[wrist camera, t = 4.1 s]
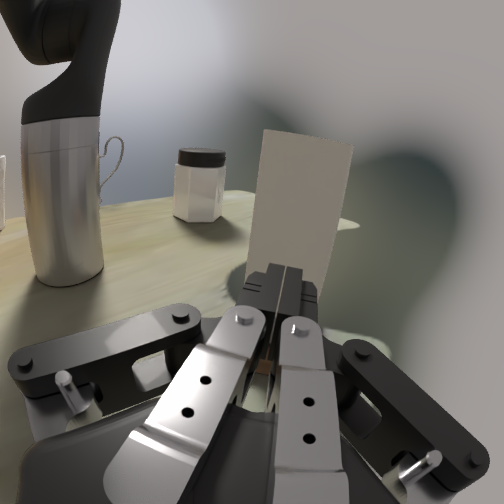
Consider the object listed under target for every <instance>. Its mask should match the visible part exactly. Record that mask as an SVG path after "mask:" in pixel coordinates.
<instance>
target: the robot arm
mask: <svg viewBox="0 0 504 504" xmlns="http://www.w3.org/2000/svg"><path fill="white" fill-rule="evenodd" d="M120 7H121V0H0V13H1V15H2V17H3V19H4V21H5V23H6V25H7V27H8V29H9V31H10V33H11V35H12V37H13V39H14V41H15V43H16V44H17V46H18V48H19V50H20V51H21V53H22V54H23V55H24V57H25V58H26V59H27V60H28V61H29V62H31V63H32V64H35V65H49V64H55V63H60V62H67V61H71V63H70V65H69V67H68V68H67V69H66V70H65V71H64V72H63V73H62V74H61V75H60V76H59V77H57V78H56V79H55V80H54V81H52V82H51V83H50V84H48V85H47V86H45V87H43V88H42V89H40V90H39V91H37V92H35V93H34V94H32V95H31V96H29V97H28V98H27V99H26V101H25V102H24V104H23V108H22V119H21V124H22V126H21V172H22V173H21V174H22V188H23V199H24V209H25V217H26V224H27V230H28V236H29V242H30V248H31V253H32V258H33V262H34V266H35V271H36V275H37V278H38V279H39V280H40V281H41V282H42V283H44V284H47V285H50V286H70V285H74V284H78V283H81V282H84V281H86V280H88V279H90V278H92V277H93V276H95V275H96V274H97V273H98V272H99V271H100V270H101V269H102V267H103V264H104V259H103V251H102V241H101V228H100V214H99V193H98V145H99V144H98V141H99V122H100V117H98V116H100V109H101V100H102V93H103V86H104V79H105V73H106V67H107V62H108V58H109V53H110V49H111V45H112V42H113V38H114V34H115V30H116V26H117V23H118V18H119V13H120ZM284 270H285V266H284V265H279V264H274V263H269V265H268V268H267V271H266V273H262V272H257V271H255V272H253V273H252V274H250V275H249V276H248V277H247V280H246V282H245V284H244V287H243V289H242V291H241V293H240V296H239V298H238V300H237V302H236V305H235V306H234V307H231V308H229V309H228V310H227V311H226V312H225V314H224V316H223V317H218V318H201V313H200V311H199V310H198V309H197V308H195V307H194V306H191V305H188V304H182V303H178V304H172V305H169V306H165V307H162V308H159V309H156V310H152V311H149V312H146V313H143V314H139V315H136V316H133V317H129V318H126V319H123V320H119V321H116V322H113V323H109V324H106V325H103V326H99V327H96V328H92V329H89V330H85V331H82V332H78V333H75V334H71V335H68V336H64V337H60V338H57V339H53V340H50V341H46V342H42V343H39V344H35V345H31V346H27V347H24V348H21V349H19V350H17V351H16V352H14V353H13V354H12V356H11V357H10V359H9V361H8V371H9V373H10V375H11V377H12V378H13V380H14V381H15V383H16V385H17V386H18V388H19V391H20V392H21V394H22V395H23V397H24V399H25V404H26V409H27V413H28V418H29V422H30V426H31V430H32V434H33V438H34V442H35V443H34V444H33V445H32V446H31V447H29V449H28V450H27V451H26V452H25V454H24V455H23V457H22V460H21V462H20V467H19V485H18V493H17V499H16V503H15V504H449V502H450V501H451V500H452V499H453V497H454V496H455V495H456V494H457V493H458V492H460V491H461V490H463V489H465V488H466V487H468V486H469V485H471V484H472V483H474V482H475V481H476V480H478V479H480V478H481V477H482V476H484V475H485V473H486V472H487V470H488V468H489V464H490V458H489V454H488V452H487V450H486V448H485V447H484V446H483V445H482V444H481V443H480V442H479V441H478V440H477V439H476V438H474V437H473V436H472V435H471V434H470V433H469V432H468V431H467V430H466V429H465V428H464V427H463V426H462V425H460V424H459V423H458V422H457V421H456V420H455V419H454V418H453V417H452V416H451V415H450V414H449V413H447V411H445V410H444V409H443V408H442V407H441V406H440V405H439V404H438V403H437V402H436V401H434V400H433V399H432V398H431V397H430V396H429V395H428V394H427V393H426V392H424V391H423V390H422V389H421V388H420V387H419V386H418V385H417V384H416V383H415V382H414V381H413V380H411V379H410V378H409V377H408V376H407V375H406V374H405V373H404V372H403V371H401V370H400V369H399V368H398V367H397V366H396V365H395V364H394V363H393V362H392V361H390V360H389V359H388V358H387V357H386V356H385V355H384V354H383V353H382V352H380V351H379V350H378V349H377V348H376V347H375V346H374V345H372V344H371V343H369V342H367V341H364V340H360V339H351V340H348V341H346V342H345V343H344V344H343V346H341V345H339V344H336V343H334V342H332V341H330V340H328V339H326V338H325V337H324V336H323V335H322V332H321V328H320V326H319V325H318V324H317V288H316V287H315V285H314V284H313V282H309V281H304V280H302V275H303V269H300V268H294V267H289V266H287V268H286V273H285V278H284V283H283V287H282V292H281V297H280V302H279V307H278V312H277V316H276V321H275V326H274V331H273V335H272V340H271V344H270V349H269V354H268V358H267V360H269V361H272V365H271V370H270V373H269V377H268V386H267V395H266V404H265V412H259V413H256V412H250V411H248V410H246V409H243V408H242V406H243V403H244V401H245V398H246V396H247V393H248V391H249V388H250V385H251V383H252V380H253V378H254V375H255V370H256V369H257V367H258V365H259V361H260V359H263V360H265V359H266V355H267V350H268V346H269V341H270V337H271V332H272V328H273V323H274V319H275V314H276V309H277V305H278V300H279V295H280V290H281V285H282V280H283V275H284ZM162 350H164V354H161V355H159V356H156V357H153V358H151V359H148V360H145V361H142V362H139V363H137V364H134V362H135V361H136V360H138V359H140V358H143V357H145V356H148V355H151V354H154V353H156V352H159V351H162ZM133 364H134V365H133ZM361 392H362V393H363V394H364V395H365V396H366V397H367V398H368V399H369V400H370V401H371V402H372V403H373V404H374V405H375V406H376V407H377V408H378V409H379V411H380V412H381V415H382V417H381V416H380V415H379V414H378V413H377V412H376V411H375V410H374V409H373V408H372V407H371V406H370V405H369V404H368V403H367V402H366V401H365V400H364V399H363V398H362V397H361V396H360V394H361ZM161 394H163V396H162V397H160V398H155V399H152V400H149V399H151V398H154V397H156V396H159V395H161ZM146 400H148V401H146ZM144 401H146V402H144ZM141 402H143V403H141ZM139 403H141V404H139ZM136 404H139V405H136ZM133 405H136V406H134V407H132V408H129V409H127V410H124V411H122V412H119V413H117V414H114V415H112V416H109V417H107V418H104V419H102V417H103V416H106V415H108V414H111V413H114V412H117V411H120V410H123V409H125V408H128V407H131V406H133ZM339 430H340V431H341V432H342V433H343V434H344V436H345V437H346V438H347V439H348V440H349V441H350V443H351V444H352V445H353V446H354V447H355V448H356V449H357V450H358V452H359V453H360V454H361V455H362V456H363V457H364V458H365V459H366V461H367V462H368V463H369V464H370V465H371V466H372V467H373V468H374V469H375V470H376V472H377V473H378V474H379V475H380V476H381V477H382V480H380V479H379V478H378V477H377V476H376V475H375V473H374V472H373V471H372V470H371V469H370V467H369V466H368V465H367V464H366V462H365V461H364V460H363V459H362V458H361V456H360V455H359V454H358V453H357V451H356V450H355V449H354V448H353V447H352V445H351V444H350V443H349V442H348V441H347V440H346V439H344V438H343V437H342V436H340V431H339Z"/></svg>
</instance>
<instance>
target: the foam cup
mask: <svg viewBox="0 0 504 504" xmlns="http://www.w3.org/2000/svg"><path fill="white" fill-rule="evenodd" d="M5 169H6V159H5V156H0V230H2V229H3V228H4V227H5V217H4V216H5V215H4V214H5V213H4V178H5Z"/></svg>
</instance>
